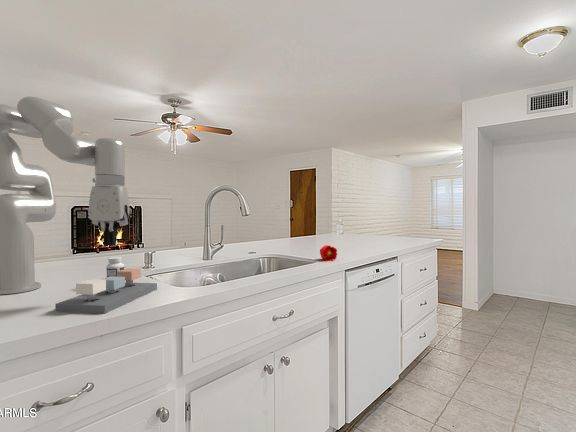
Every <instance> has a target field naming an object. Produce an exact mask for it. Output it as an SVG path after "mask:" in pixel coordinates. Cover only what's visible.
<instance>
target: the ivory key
mask: <svg viewBox="0 0 576 432" xmlns="http://www.w3.org/2000/svg"><path fill="white" fill-rule="evenodd" d="M105 290H106V280H100V279H87V280H83V281H80V282H76V283H75V293H76V294H75V295H82V294H86V295H87V300H89V301H90V300H95V299H96V293H99V292H102V291H105Z"/></svg>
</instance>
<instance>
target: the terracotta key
mask: <svg viewBox="0 0 576 432" xmlns="http://www.w3.org/2000/svg"><path fill="white" fill-rule="evenodd" d="M117 277H125V282H126V286H131V285H133V283H134V281H135V280H138V279H140V278H141V277H142V269H141V268H124V270H120V271H117Z"/></svg>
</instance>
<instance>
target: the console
mask: <svg viewBox="0 0 576 432" xmlns="http://www.w3.org/2000/svg"><path fill="white" fill-rule="evenodd" d="M156 290H158V283H157V282H133V285H131V286H126V281H125V286H124V287H121V288H118V289H116V293H114V294H108V290H105V291H102V292H99V293H96V299H95V300H90V301H89V300H87V295H86V294H78V295H76V296H74V297H71V298H68V299H65V300H61V301H59V302H57V303H55V308H54V309H55V312H56V313H57V312H60V313H64V312H65V313H84V314H87V313H88V314H107V313H109V312H111V311H113V310H116V309H117V308H120V307H122V306H124V305H127V304H129V303H130V302H133V301H135V300H137V299H139V298H141V297H144V296H145V295H148V294H150V293H152V292H154V291H156Z"/></svg>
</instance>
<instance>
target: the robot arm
mask: <svg viewBox="0 0 576 432" xmlns="http://www.w3.org/2000/svg"><path fill="white" fill-rule="evenodd" d="M73 132H74V124H73V114H72V113H71V112H70V110H69V109H68V108H67V107H65V106H64V105H61V104H59V103H56V102H53V101H49V100H47V99H43V98H41V97H38V96H25V97H23V98H20V99H19V100H18V103H17V105H16V106H15V107H14V106H11V105H7V104H4V103H0V190H2V191H14V192H28V193H29V194H27V193H25V194H24V193H3V194H0V295H13V294H19V293H25V292H30V291H34V290H37V289H39V288H41V287H42V283H41V282H38V281H36V280H35V279H36V278H35V277H36V275H35V274H36V271H35V270H36V269H35V236H34V233H33V230H31V228H30V227H29V226H28V224H27V223H44V222H48V221H51V220H52V219H54V217H55V216H56V213H57V203H56V202H57V201H56V198H55V193H54V187H53V186H54V185H53V180H52V177H51V175H50V173H49V172H48V170H47V169H46V168H45V167H44V166H42V165H38V164H29V163H25V162H24V160H23V156H22V154H23V153H22V150H21V148H20V146H19V145H18V143H17V142H16V140H15V139H14V138H13V137H11V136H10V134H14V135H18V136H23V137H24V136H25V137H29V138H34V139H42V143H43V145H44V147H45V148H46V149H47V150H48V151H49V152H50V153H52V154H53V155H54V156H55V157H56V158H58V159H59V160H62V161H64V162H67V163H71V164H77V165H85V166H90V167H94V178H92V179H91V181H92V183H94V185H93V186H91V189H90V194H89V202H88V219H89V220H91V224H92V225H95V226H98V227H99V228H100V230H101V232H103V245H104V246H115V245H117V241H118V240H117V239H118V238H117V234H118V233H117V232H118V231H119V230H120V228H121V227H122V226H123V227H124V226H126V225H129V218H130V201H129V193H128V189H127V187H126V186H125V184H126V183H125V181H126V180H125V177H126V176H125V165H126V164H125V162H126V161H125V150H126V148H125V144H124V142H123V141H121V140H119V139H115V138H109V137H101V138H98V139H96V140H91V139H88V138H84V137H80V136H75V135H72V134H73Z"/></svg>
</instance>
